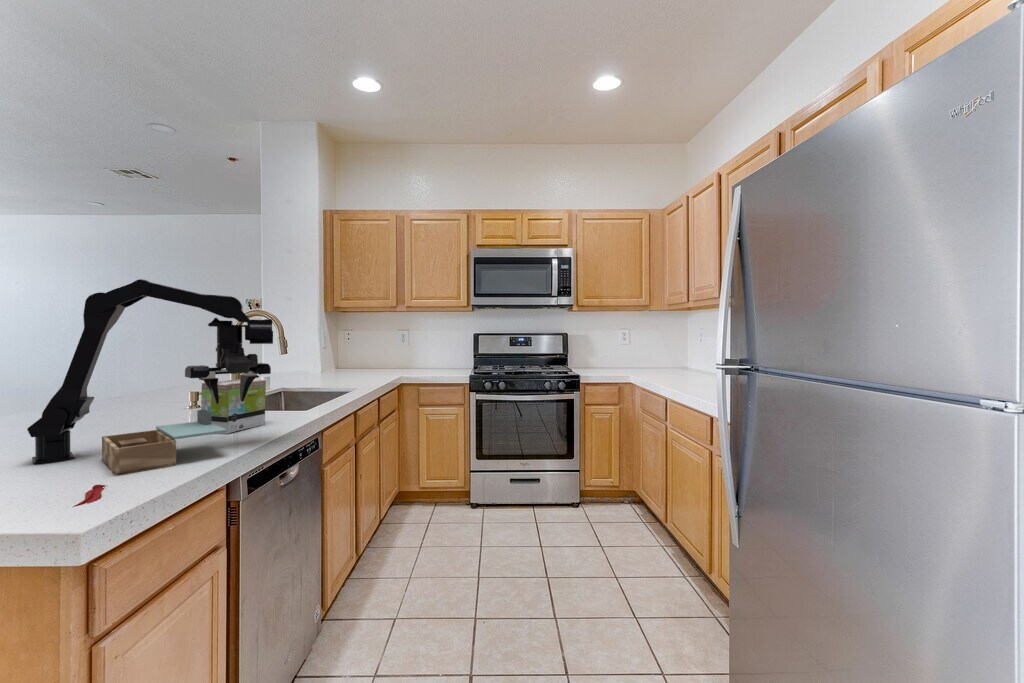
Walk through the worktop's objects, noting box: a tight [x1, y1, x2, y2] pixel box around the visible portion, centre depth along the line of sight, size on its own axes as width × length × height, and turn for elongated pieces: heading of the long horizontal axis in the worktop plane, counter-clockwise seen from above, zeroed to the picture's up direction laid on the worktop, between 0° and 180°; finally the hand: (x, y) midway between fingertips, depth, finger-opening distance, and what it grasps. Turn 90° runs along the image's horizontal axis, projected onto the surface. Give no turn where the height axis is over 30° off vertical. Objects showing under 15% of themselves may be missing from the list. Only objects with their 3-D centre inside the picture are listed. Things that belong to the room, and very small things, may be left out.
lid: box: [155, 409, 227, 440], centre depth 110 cm, size 16×10×4 cm, turn 49°
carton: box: [101, 429, 177, 476], centre depth 103 cm, size 16×10×6 cm, turn 49°
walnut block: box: [118, 438, 148, 448], centre depth 102 cm, size 4×4×4 cm
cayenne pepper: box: [72, 484, 108, 508], centre depth 83 cm, size 12×5×2 cm, turn 11°
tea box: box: [200, 378, 267, 435], centre depth 140 cm, size 15×10×15 cm
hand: (229, 402), depth 121 cm, fingers open, 6 cm apart
